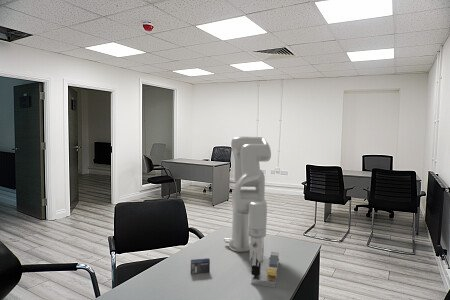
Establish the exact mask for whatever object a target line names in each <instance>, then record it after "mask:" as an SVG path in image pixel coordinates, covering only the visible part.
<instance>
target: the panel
mask: <svg viewBox="0 0 450 300" xmlns="http://www.w3.org/2000/svg"><path fill="white" fill-rule="evenodd" d="M269 257H270V256H264V255H263V259H262V262H261V271H260V274H259V276H257V275H252V274H251V278H250V284H251V285H256V286H257V285H258V286H263V287H271V288H276V286H277V280H278V279H277V277H278V272H279V271H278V270H279V264H280V260H279V261H278V265H277V267H275V266H269V262H270V260H269ZM268 267H273V268H277V273H276V276H273V275H267V269H268Z"/></svg>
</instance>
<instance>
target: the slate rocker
mask: <svg viewBox="0 0 450 300" xmlns="http://www.w3.org/2000/svg"><path fill="white" fill-rule="evenodd" d="M279 253H280V252H274V251H271V252H270V255H269V256H268V257H269V260H270V262H269V266H275V267H277V265H278V261H279V262H280V258H279V256H280V254H279ZM278 266H279V265H278Z"/></svg>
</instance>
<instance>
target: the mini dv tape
mask: <svg viewBox="0 0 450 300" xmlns="http://www.w3.org/2000/svg"><path fill="white" fill-rule="evenodd" d="M210 269H211V259H210V258H207V257H206V258H198V259H197V258H196V259H190V275H200V274H210Z"/></svg>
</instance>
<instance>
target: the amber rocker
mask: <svg viewBox="0 0 450 300" xmlns="http://www.w3.org/2000/svg"><path fill="white" fill-rule="evenodd" d="M276 273H277V274H278V272H277V268H273V267H268V269H267V275H273V276H276Z"/></svg>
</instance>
